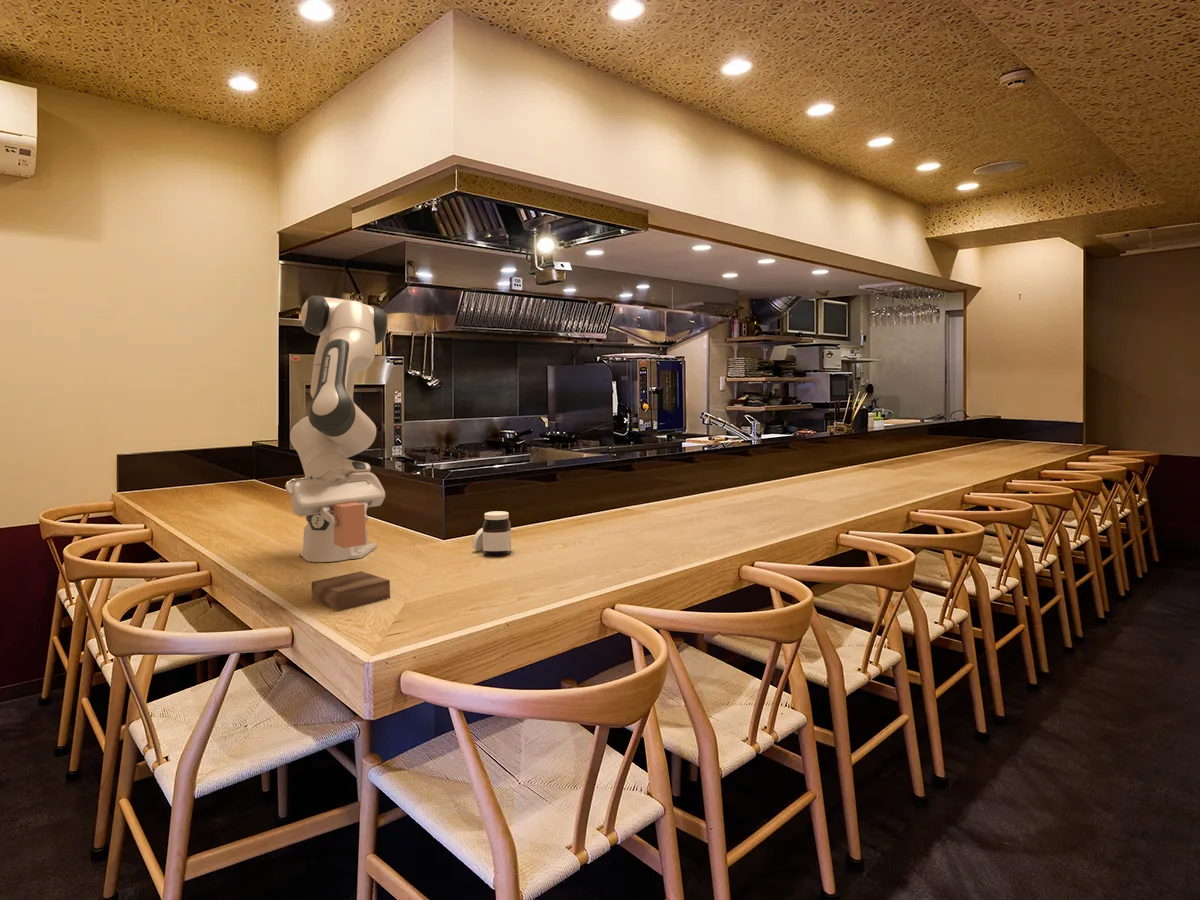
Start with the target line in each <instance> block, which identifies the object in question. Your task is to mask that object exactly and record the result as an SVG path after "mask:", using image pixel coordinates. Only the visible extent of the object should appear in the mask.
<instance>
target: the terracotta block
mask: <svg viewBox="0 0 1200 900" xmlns="http://www.w3.org/2000/svg"><path fill="white" fill-rule="evenodd" d="M333 516H334V517H335V516H338V518H339V519H338V520H339V521H340V524H339V526H338V527H334V545H337V546H339V547H342V548H348V547H354V546H360V545H366V531H365V528H366V522H365V506H364V504H362V503H358V502H352V503H344V504H336V505H333Z"/></svg>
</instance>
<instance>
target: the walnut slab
mask: <svg viewBox="0 0 1200 900" xmlns="http://www.w3.org/2000/svg"><path fill="white" fill-rule="evenodd" d="M387 598H389V599H391V582H390V579H387V578H384V577H380V576H377V575H374V574H371V573H368V572H365V571H360V570H359V571H357V572H352V573H348V574H341V575H338V576H332V577H328V578H324V579H323V578H322V579H319V580H313V581H311V599H312V600H311V601H313V600H314V601H313V602H315V601H316V602H315V603H318V602H319V603H318V604H320V603H321V604H320V605H324V606H325V605H326V607H328V608H331V609H333V610H335V611H338V612H343V611H346V610H349V609H354V608H358V607H361V606H365V605H369V604H372V603H373V602H374V603H377V602H381V601H384V600H383V599H385V600H388V599H387ZM380 600H381V601H380Z"/></svg>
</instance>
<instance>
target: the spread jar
mask: <svg viewBox="0 0 1200 900" xmlns="http://www.w3.org/2000/svg"><path fill="white" fill-rule="evenodd" d="M483 514H484V521H483V524H482V528H479V529H478V530H477V532H476V533H475V534H474V536H473V539H472V543H471V545H472V549H474V550H476V551H477V552H481V551H483V554H484V555H485V556H487V555H488V556H487V557H502V556H501V555H504V556H508V555H510V553H511V552H512V551H511V550H512V528H511V527H512V525H511V521H510V520H509V517H510V516H509V512H508V511H503V510H502V511H501V510H500V511H498V510H496V511H495V510H494V511H488V512H485V513H483ZM482 549H483V550H482ZM480 550H481V551H480ZM507 554H508V555H507Z"/></svg>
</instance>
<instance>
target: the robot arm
mask: <svg viewBox="0 0 1200 900" xmlns="http://www.w3.org/2000/svg"><path fill="white" fill-rule="evenodd" d="M300 320H301V324H302V328H303V330H305V332H306V333H309V334H311V335H314V336H316V337H318V336H320V337H319V339H318V342H317V345H316V349H315V354H314V360H313V366H312V374H311V375H312V376H311V380H310V381H311V382H310V384H311V385H310V391H309V392H310V396H311V398H312V400H311V402H310V405H309V408H308V410H307V411H308V412H307V415H306V416H305V417H303V418H301V419H299V421H298V422H297V423H295V424H294V425H293V426H292V427H291V430H290V432H289V440H290V444H291V445H292V447H293V449H295V450H296V452H297V455H298V457H299V460H300V463H301V466H302V469H303V474H304V477H299V478H296V477H295V478H291V479H289V480H288V481H286V483H285V485H284V487H285V490H286V493H287V494H288V495H289V497H290V502H291V503H290V504H291V507H292V511H293V513H294V515H296V516H298V517H305V516H306V517H305V519H306V522H307V524H306V525H305V526H304V528H303V541H302V551H300V552H299V556H300V555H302V556H303V557H302V559H303V558H304V559H305V560H304V559H303V560H304V561H306V560H307V561H306V562H311V561H312V562H311V563H313V562H315V563H329V562H340V561H346V560H352V559H353V560H355V559H361V558H364V557H365V556H366V555H368V554H369V553H370V552H372V551H373V550H375V549H376V548H377V547H378V546H377V543H376V542H371V541H370V542H369V534H368V529H367V527H365V531H366V545H360V546H354V547H348V548H342V547H339V546H337V545H334V527H338V526H339V524H340V521H339V520H338V519H339V518H338V516H335V517H334V516H333V505H336V504H344V503H352V502H358V503H362V504H364V506H365V523H367V522H368V520H369V517H368V515H367V510H368V508H373V507H374V508H375V507H380V506H381V505H382V504H383V502H384V500H385V498H386V492H385V489H384V487H383V485H382V483H381V481H380V480H379V478H378V477H377V476H376V474H374V473H373V472H371V468H372V467H371V465H370V464H369V463H368V462H363V461H357V460H353V459H349V458H352V457H354V456H356V455H359V454H361V453H363V452H365V451H368V449H369V448H370V447H372V445H373V444H374V443H375V440H376V439H377V432H378V431H377V430H378V429H377V426H376V424H375V423H374V421H373V420H372V419H371V418H370V417H369V416H368V415H367V414H366V413H365V412H364V411H363V410H361V408H360V407H359V406H358V405H357V404H356V403H355V402H354V389H355V388H354V387H355V378H356V373H358V372H359V373H360V372H362V371H364V370H366V369H368V368H369V367H370V366H371V365H372V364H373V362H374V359H375V355H376V346H377V345H378V344H380V343H381V342H383V340H384V339H385V336H386V335H387V334H388V333H387V332H388V329H389V322H388V321H389V320H388V315H387V314H386V311H385V310H384V309H382V308H380V307H377V306H376V305H368V304H365V303H363V302H362V301H358V300H350V299H342V298H337V297H328V296H327V297H325V296H324V295H311V296H309V297H308V298H306V300H305V302H304V304H303V305H302V308H301V311H300Z"/></svg>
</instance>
